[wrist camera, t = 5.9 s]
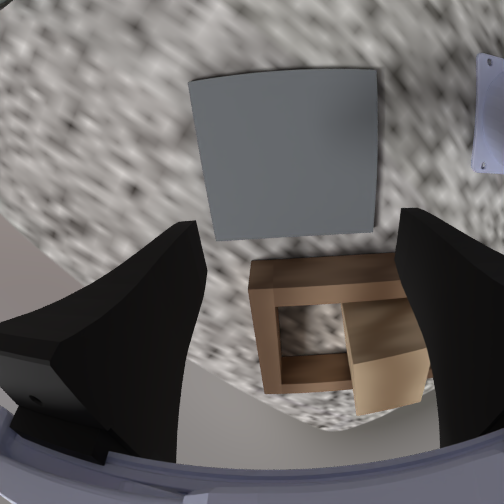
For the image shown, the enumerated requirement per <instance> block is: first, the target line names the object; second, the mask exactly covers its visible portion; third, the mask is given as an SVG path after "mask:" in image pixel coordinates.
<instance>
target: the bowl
mask: <svg viewBox="0 0 504 504" xmlns="http://www.w3.org/2000/svg"><path fill="white" fill-rule="evenodd" d="M12 1H13V0H0V10H1V9H3V8H4V7H5V6H7V5H8V4H9V3H10V2H12Z"/></svg>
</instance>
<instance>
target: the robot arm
mask: <svg viewBox="0 0 504 504" xmlns="http://www.w3.org/2000/svg"><path fill="white" fill-rule="evenodd" d="M488 59H490V60H491V65H490V66H489V65H488V63H487V60H488ZM484 162H485V167H484V168H481V165H482V163H484ZM471 168H472V170H473V171H475V172H477V173H494V174H504V59H503V58H500V57H496V56H493V55H489V54H485V53H479V54H478V55H477V56H476V114H475V129H474V141H473V151H472V159H471ZM394 261H395V264H396V268H397V271H398V275H399V278H400V281H401V285H402V287H403V289H404V292H405V294H406V296H407V299H408V301H409V303H410V306H411V308H412V310H413V313H414V315H415V318H416V320H417V322H418V325H419V327H420V330H421V332H422V335H423V338H424V341H425V344H426V348H427V352H428V356H429V360H430V364H431V369H432V374H433V380H434V385H435V391H436V398H437V406H438V416H439V429H440V449H436V450H432V451H428V452H424V453H419V454H415V455H410V456H406V457H400V458H395V459H389V460H384V461H377V462H370V463H363V464H356V465H347V466H339V467H326V468H312V469H292V470H291V469H289V470H251V469H228V468H214V467H213V468H212V467H202V466H192V465H184V464H176V449H177V428H178V416H179V405H180V397H181V389H182V381H183V374H184V367H185V361H186V357H187V352H188V348H189V345H190V341H191V338H192V334H193V331H194V328H195V324H196V321H197V317H198V314H199V311H200V307H201V304H202V300H203V297H204V292H205V285H206V278H207V266H206V262H205V258H204V254H203V249H202V245H201V241H200V236H199V232H198V227H197V223H196V220H195V221H183V222H178V223H176V224H174V225H173V226H171V227H170V228H168V229H167V230H166V231H164V232H163V233H162V234H160V235H159V236H158V237H156V238H155V239H154V240H153V241H151V242H150V243H149V244H147V245H146V246H145V247H144V248H142V249H141V250H140V251H138V252H137V253H136V254H134V255H133V256H132V257H130V258H129V259H128V260H126V261H125V262H123V263H122V264H121V265H119V266H118V267H117V268H115V269H114V270H112V271H111V272H109V273H108V274H106V275H104V276H103V277H101V278H100V279H98V280H96V281H95V282H93V283H91V284H90V285H88V286H86V287H84V288H82V289H80V290H78V291H77V292H74V293H73V294H71V295H69V296H67V297H65V298H63V299H61V300H59V301H57V302H54V303H52V304H50V305H47V306H45V307H43V308H41V309H38V310H35V311H33V312H30V313H28V314H24V315H21V316H18V317H15V318H12V319H10V320H6V321H3V322H1V323H0V387H1V388H2V389H3V390H4V391H5V392H6V393H7V394H8V395H9V396H10V397H11V398H12V400H13V401H15V403H16V404H17V405H19V407H18V408H17V411H16V413H15V415H13V414H12V413H10V412H9V411H8V410H7V409H5V408H4V407H2V406H0V495H1V496H2V497H3V498H5V499H6V500H8V501H9V502H11V503H12V504H504V255H503V254H501V253H499V252H497V251H495V250H493V249H491V248H489V247H487V246H485V245H484V244H482V243H480V242H478V241H477V240H475V239H473V238H471V237H470V236H468V235H466V234H464V233H463V232H461V231H459V230H458V229H456V228H454V227H453V226H451V225H449V224H448V223H446V222H444V221H443V220H441V219H439V218H437V217H436V216H434V215H432V214H430V213H428V212H426V211H424V210H422V209H419V208H401V214H400V222H399V230H398V238H397V245H396V252H395V258H394Z"/></svg>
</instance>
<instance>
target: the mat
mask: <svg viewBox="0 0 504 504" xmlns="http://www.w3.org/2000/svg"><path fill="white" fill-rule="evenodd" d="M188 87H189V93H190V99H191V106H192V112H193V118H194V124H195V130H196V135H197V141H198V147H199V153H200V158H201V164H202V169H203V175H204V180H205V186H206V191H207V197H208V202H209V207H210V212H211V218H212V223H213V228H214V233H215V238H216V241H229V240H245V239H261V238H278V237H295V236H313V235H331V234H350V233H370V232H373V226H374V214H375V199H376V182H377V155H378V97H377V71H376V70H372V69H299V70H281V71H268V72H257V73H247V74H238V75H230V76H222V77H215V78H209V79H202V80H196V81H191V82H188Z"/></svg>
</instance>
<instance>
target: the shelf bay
mask: <svg viewBox="0 0 504 504" xmlns="http://www.w3.org/2000/svg"><path fill="white" fill-rule="evenodd" d="M394 258H395V252H394V253H378V254H362V255H345V256H328V257H310V258H293V259H275V260H256V261H251V268H250V276H249V285H248V293H249V300H250V306H251V312H252V319H253V325H254V331H255V337H256V344H257V350H258V356H259V362H260V368H261V374H262V381H263V387H264V393H265V394H287V393H309V392H324V391H337V390H348V389H353V386H352V379H351V373H350V367H349V360H348V354H347V353H338V354H324V355H308V356H288V357H282V354H281V341H280V329H279V316H278V307H281V306H301V305H318V304H334V303H348V302H361V301H373V300H385V299H396V298H406V297H407V296H406V294H405V292H404V289H403V287H402V285H401V281H400V278H399V275H398V271H397V268H396V264H395V261H394ZM428 378H433V374H432V369H431V364H430V367H429V371H428V375H427V379H428Z"/></svg>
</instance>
